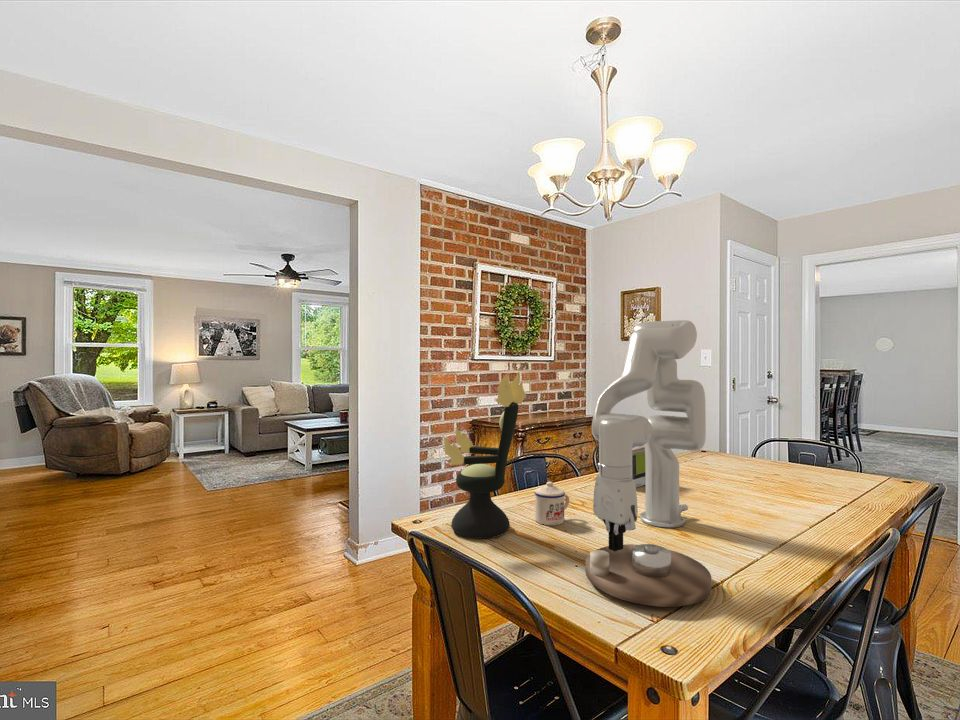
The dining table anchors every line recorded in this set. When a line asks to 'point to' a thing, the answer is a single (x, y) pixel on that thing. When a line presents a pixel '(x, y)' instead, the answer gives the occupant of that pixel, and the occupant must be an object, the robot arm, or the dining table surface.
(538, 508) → the teacup with lid
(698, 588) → the turntable
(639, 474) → the tea box
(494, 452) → the toy pedestal armchair
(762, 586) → the dining table surface
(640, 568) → the cap
